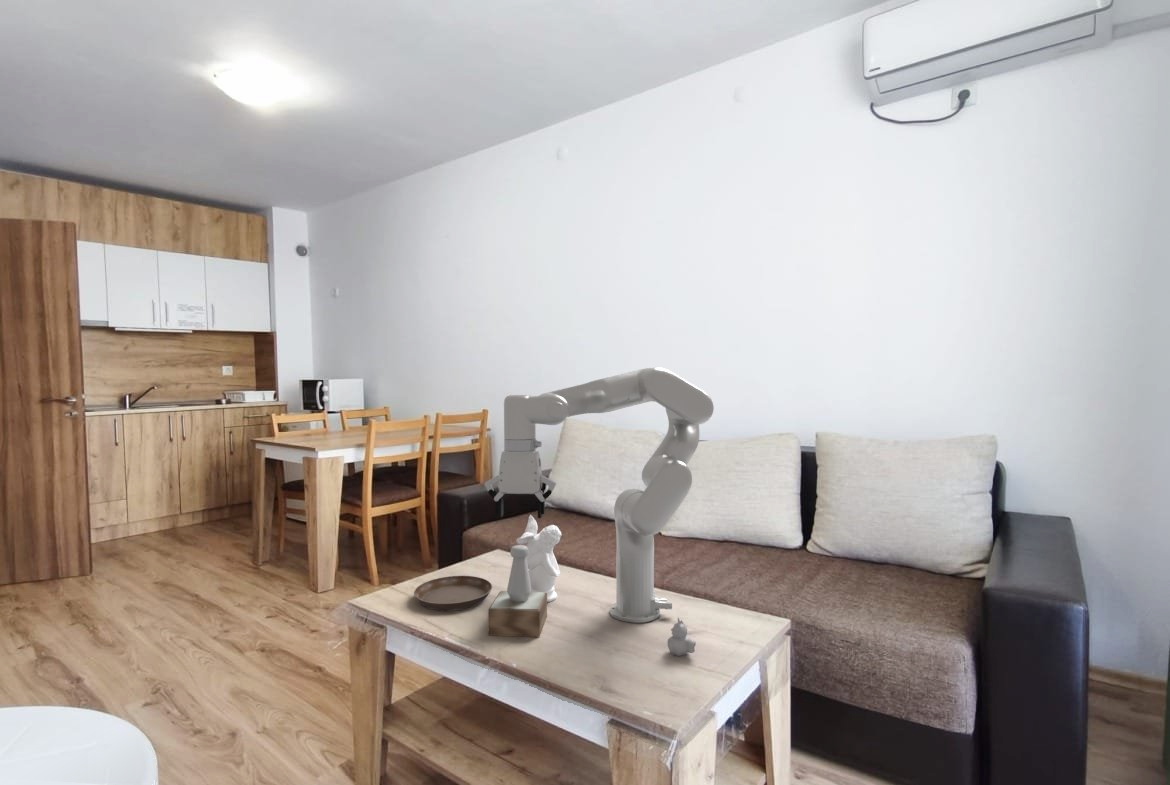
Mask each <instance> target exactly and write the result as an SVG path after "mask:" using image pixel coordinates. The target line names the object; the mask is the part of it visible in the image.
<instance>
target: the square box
mask: <svg viewBox="0 0 1170 785" xmlns="http://www.w3.org/2000/svg"><path fill="white" fill-rule="evenodd" d="M487 611H488V618H487V622H488V625H487V626H488V630H487V631H488V632H487V635H488V636H494V637H495V636H497V637H500V636H501V637H521V636H522V637H523V636H525V637H527V638H540V637H541V634H542V632H543V629H544V626H545V623H546V621H547V619H548V618H547V617H548V602H547V593H545V592H531V593H530V596H529V598H528V600H527V601H525V602H521V603H516V602H512V601H511V599H510V597H509V594H508V592H507V590H500V591H499V592H498V594H497V595H496V597H495V598H494V600H493V601H492V603H491V604H490V606H489V608H488V610H487ZM525 637H524V638H525Z"/></svg>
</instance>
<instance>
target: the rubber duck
mask: <svg viewBox="0 0 1170 785" xmlns="http://www.w3.org/2000/svg"><path fill="white" fill-rule="evenodd" d="M670 631H671V636H669V637H668V639H667V648H668V651H669V652H670V653H671V654H672V655H674V656H679V657H681V656H682V657H683V656H684V655H687V654H688V653H689V654H693V653H695V651H696V650H695V647H696V644H697V641H696V640H694V639H692V638H691V637H690V636H688V628H687V626H686V625H685V623H684V621H683V620H680V618H679V617H677V622H676V623H674V625H673V627H672V628H670Z"/></svg>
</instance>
